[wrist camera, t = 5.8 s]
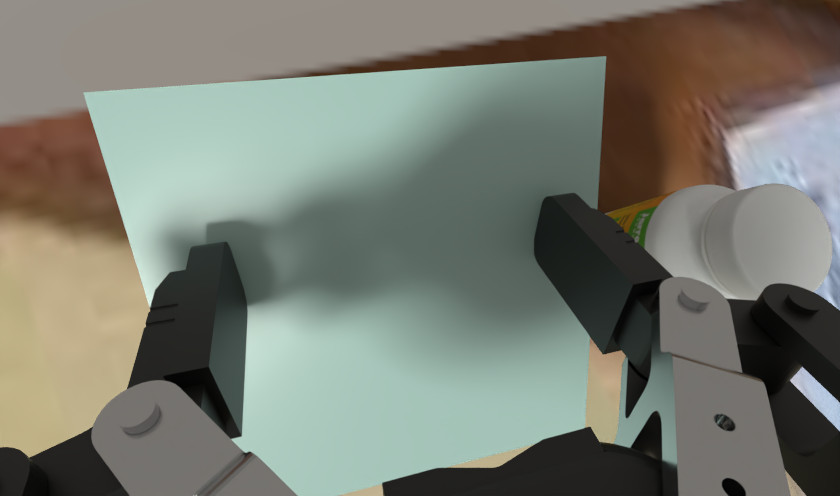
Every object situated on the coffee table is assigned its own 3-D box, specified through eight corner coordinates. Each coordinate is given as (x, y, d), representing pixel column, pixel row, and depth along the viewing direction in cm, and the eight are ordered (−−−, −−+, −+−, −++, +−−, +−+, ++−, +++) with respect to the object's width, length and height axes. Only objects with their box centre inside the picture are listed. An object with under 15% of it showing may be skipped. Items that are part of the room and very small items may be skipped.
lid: (587, 59, 12) (606, 56, 11) (571, 416, 16) (584, 430, 15) (100, 93, 10) (83, 92, 9) (222, 504, 14) (217, 526, 13)
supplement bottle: (557, 217, 24) (703, 163, 14) (645, 213, 25) (835, 160, 15) (568, 318, 23) (728, 331, 14) (658, 309, 24) (864, 315, 15)
